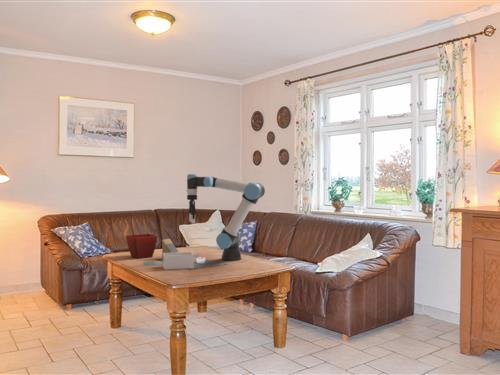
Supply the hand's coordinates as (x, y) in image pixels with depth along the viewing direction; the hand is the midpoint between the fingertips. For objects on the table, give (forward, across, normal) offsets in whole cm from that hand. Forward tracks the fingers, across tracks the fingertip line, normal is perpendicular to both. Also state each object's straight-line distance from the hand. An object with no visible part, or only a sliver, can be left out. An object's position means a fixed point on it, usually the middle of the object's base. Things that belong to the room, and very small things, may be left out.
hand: (192, 222), depth 338 cm
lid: (+29, +10, -23) cm, 38 cm away
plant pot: (+29, -25, -37) cm, 53 cm away
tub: (+29, +28, -13) cm, 42 cm away
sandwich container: (+29, -10, -14) cm, 33 cm away
